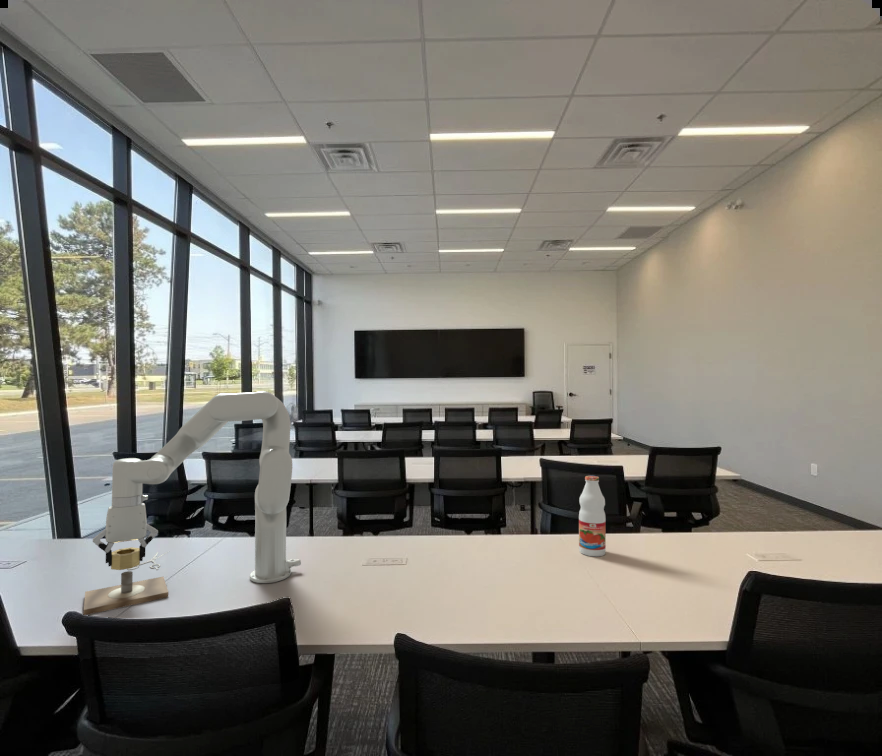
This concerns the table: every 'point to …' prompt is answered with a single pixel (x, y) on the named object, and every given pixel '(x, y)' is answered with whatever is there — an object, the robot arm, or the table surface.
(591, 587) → the table surface
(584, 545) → the fruit juice
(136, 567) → the scissors
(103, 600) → the post plate
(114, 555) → the ring
